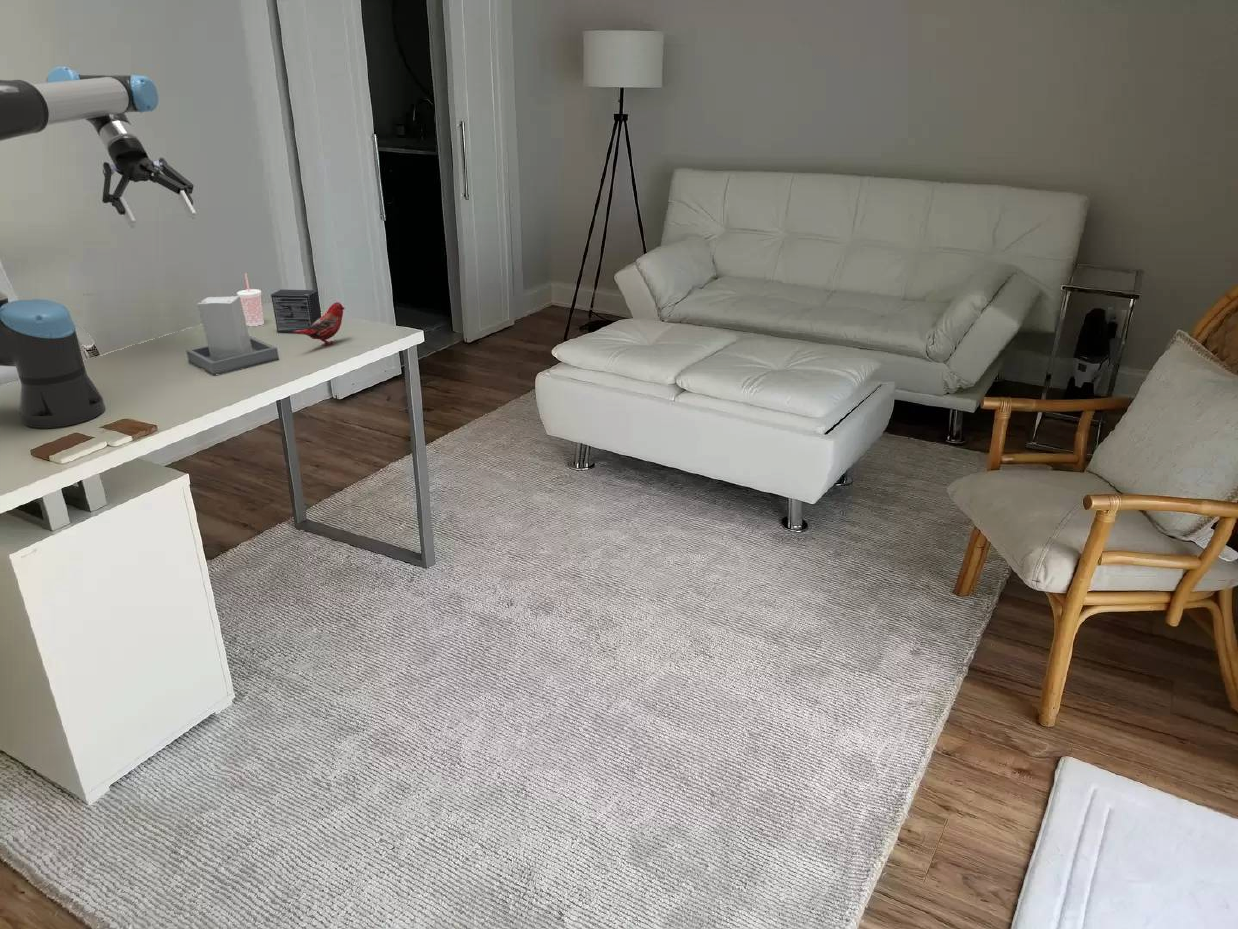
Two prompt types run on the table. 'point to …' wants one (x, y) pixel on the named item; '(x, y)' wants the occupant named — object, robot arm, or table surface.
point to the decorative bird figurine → (325, 325)
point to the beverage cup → (251, 305)
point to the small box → (295, 309)
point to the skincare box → (224, 327)
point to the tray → (233, 358)
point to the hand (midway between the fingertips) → (164, 220)
